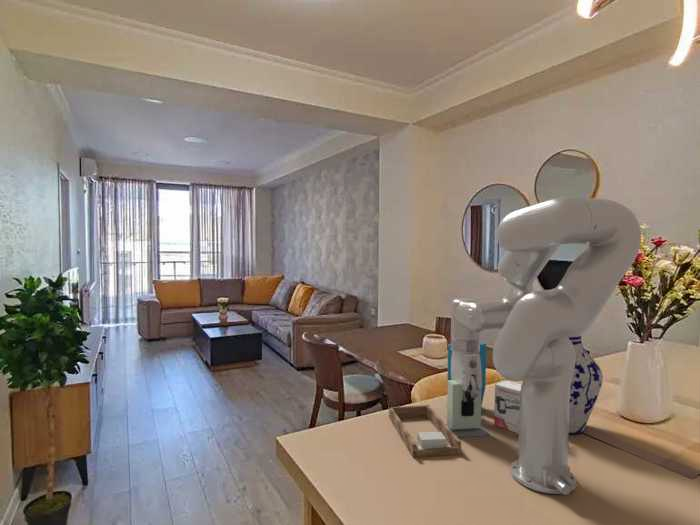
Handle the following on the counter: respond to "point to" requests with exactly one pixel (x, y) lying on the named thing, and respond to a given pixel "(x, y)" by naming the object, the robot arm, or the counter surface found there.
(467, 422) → the sage green box
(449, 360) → the block
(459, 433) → the felt mat
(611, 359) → the counter surface
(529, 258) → the robot arm
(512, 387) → the ink box
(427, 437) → the offcut top
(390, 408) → the tray
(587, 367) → the vase
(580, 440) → the counter surface
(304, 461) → the counter surface
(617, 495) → the counter surface
